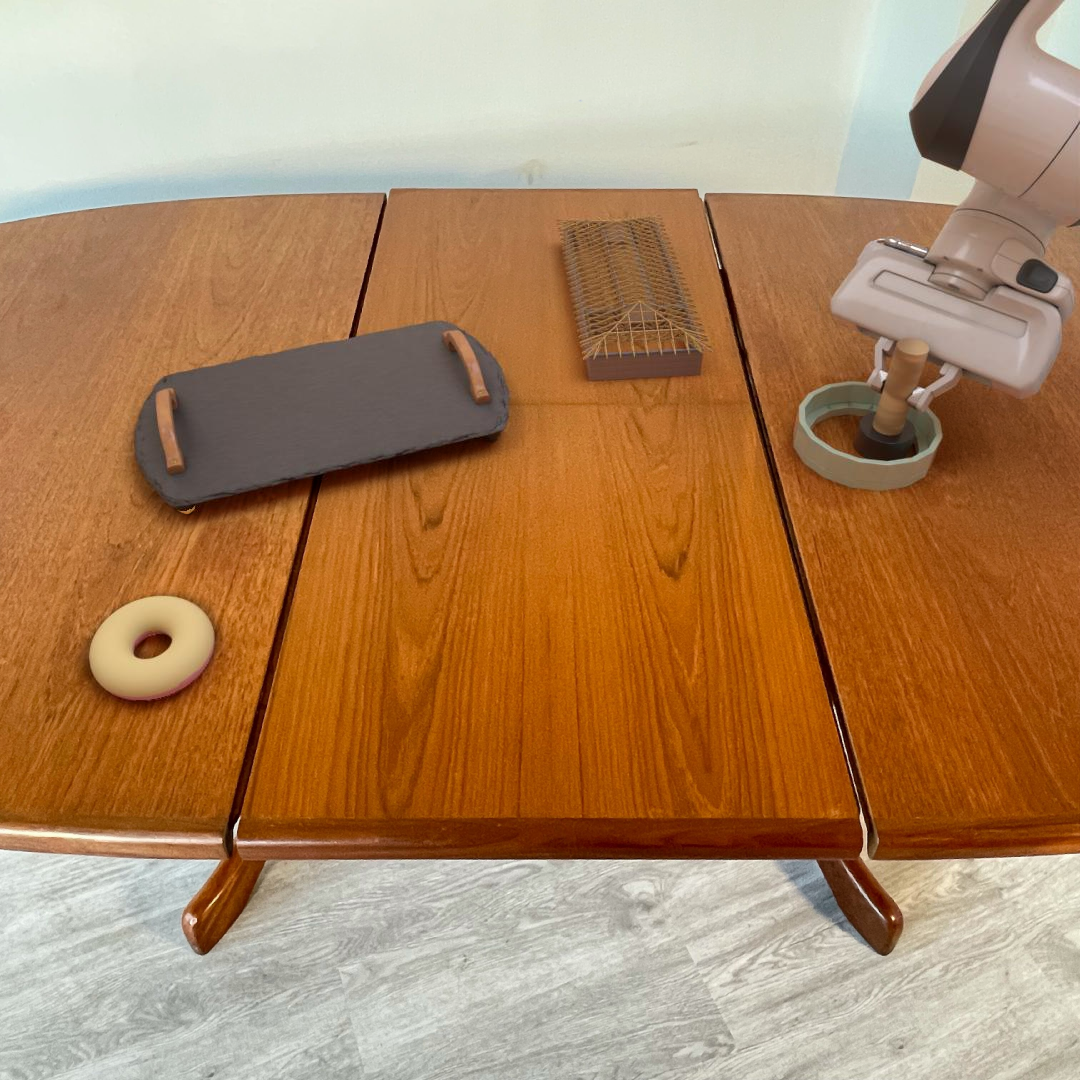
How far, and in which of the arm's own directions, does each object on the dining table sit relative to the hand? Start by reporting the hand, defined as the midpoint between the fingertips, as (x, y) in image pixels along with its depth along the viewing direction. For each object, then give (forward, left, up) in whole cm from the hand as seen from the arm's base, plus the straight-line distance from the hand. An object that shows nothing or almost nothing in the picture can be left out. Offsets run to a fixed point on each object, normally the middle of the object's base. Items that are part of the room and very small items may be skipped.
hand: (894, 399), depth 82 cm
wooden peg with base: (0, -1, -7) cm, 7 cm away
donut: (+59, +36, -8) cm, 69 cm away
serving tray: (+56, +3, -8) cm, 57 cm away
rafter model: (+29, -27, -8) cm, 40 cm away
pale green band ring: (+2, 0, -8) cm, 8 cm away
